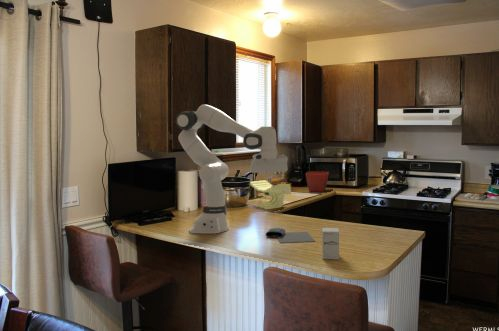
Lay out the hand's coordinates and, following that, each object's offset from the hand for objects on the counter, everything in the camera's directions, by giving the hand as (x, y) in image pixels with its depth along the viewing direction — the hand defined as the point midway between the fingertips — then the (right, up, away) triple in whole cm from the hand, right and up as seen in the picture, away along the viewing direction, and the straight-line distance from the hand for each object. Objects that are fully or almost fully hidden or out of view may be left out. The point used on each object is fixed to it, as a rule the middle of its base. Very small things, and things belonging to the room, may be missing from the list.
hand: (269, 180), depth 240 cm
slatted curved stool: (+4, -22, +80) cm, 84 cm away
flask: (+2, -28, -9) cm, 30 cm away
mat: (+13, -30, -10) cm, 34 cm away
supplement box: (+25, -33, -46) cm, 62 cm away
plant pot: (+50, -15, +149) cm, 158 cm away
